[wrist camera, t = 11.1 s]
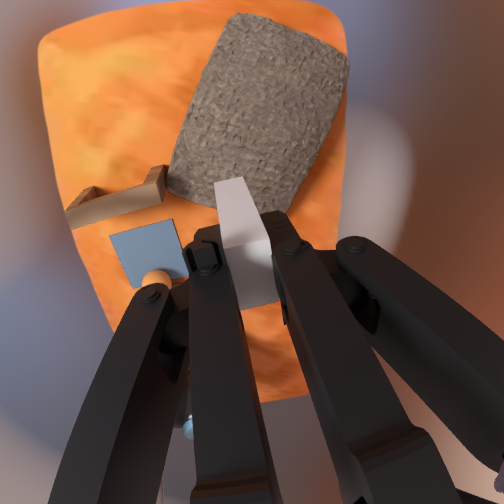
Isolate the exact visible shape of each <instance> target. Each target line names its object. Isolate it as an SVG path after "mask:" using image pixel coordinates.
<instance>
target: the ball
mask: <svg viewBox="0 0 504 504" xmlns="http://www.w3.org/2000/svg"><path fill="white" fill-rule="evenodd" d="M152 283H163V284H165V285H167V286H168V288H169V290H170V289H171V288H172V282H171V279H170V277H169V276H168V274H167V273H165V272H164V271H162V270H152V271H150V272H148V273H147V274H146V275H145V276H144V278H143V281H142V287H144V286H146V285H149V284H152Z"/></svg>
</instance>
